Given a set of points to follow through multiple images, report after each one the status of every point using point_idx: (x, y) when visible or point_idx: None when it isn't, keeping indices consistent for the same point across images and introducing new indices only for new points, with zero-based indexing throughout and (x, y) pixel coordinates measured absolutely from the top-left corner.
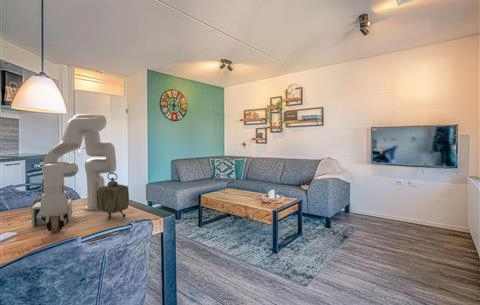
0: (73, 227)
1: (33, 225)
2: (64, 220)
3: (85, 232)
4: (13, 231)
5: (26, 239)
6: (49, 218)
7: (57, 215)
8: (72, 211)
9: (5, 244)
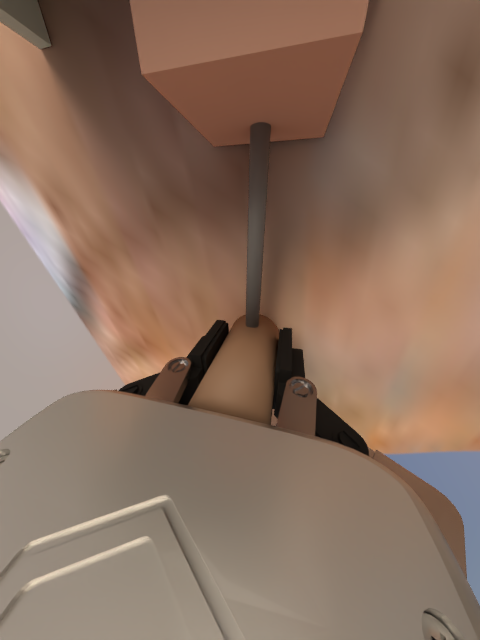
0: (368, 300)
1: (37, 38)
2: (320, 116)
3: (401, 431)
4: (8, 164)
5: (158, 359)
6: (182, 387)
7: (242, 412)
8: (455, 535)
9: (115, 367)
